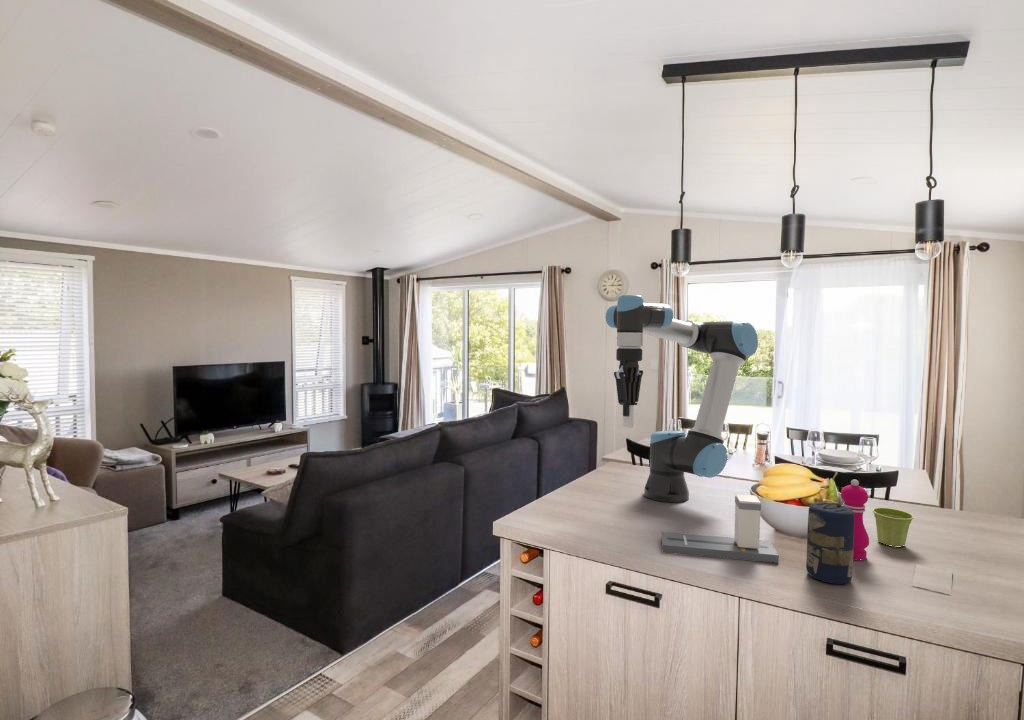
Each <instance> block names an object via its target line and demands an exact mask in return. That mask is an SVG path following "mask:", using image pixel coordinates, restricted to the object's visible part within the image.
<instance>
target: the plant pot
mask: <svg viewBox="0 0 1024 720" xmlns="http://www.w3.org/2000/svg"><path fill="white" fill-rule="evenodd" d="M871 511H872V513H873V516H874V518H875V525H876V535H877V536H876V537H877V542H878V541H879V542H881V543H883V544H882V545H885V544H886V545H885V546H887V545H892V546H903V545H905V546H906V542H907V537H908V532H909V529H910V525H911V523H912V520H913V519H914V518H915V516H914V515H913V514H912V513H910V512H907V511H904V510H900V509H896V508H891V507H890V508H889V507H875V508H874V507H873V508H872V510H871ZM879 542H878V543H879ZM881 543H880V544H881Z"/></svg>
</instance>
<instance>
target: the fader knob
mask: <svg viewBox="0 0 1024 720" xmlns="http://www.w3.org/2000/svg"><path fill="white" fill-rule="evenodd" d="M734 502H735V508H734V535H733V538H734V539H735V541H736V543H737V545H738V547H745V548H756V549H759V540H761V539H760V536H761V535H760V534H761V533H760V532H761V510H762V504H761V501H760V499H759V498H758V497H757V495H749V494H735V496H734Z"/></svg>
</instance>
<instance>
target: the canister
mask: <svg viewBox="0 0 1024 720" xmlns="http://www.w3.org/2000/svg"><path fill="white" fill-rule="evenodd" d="M854 524H855V514H854V512H853V511H852V510H851V509H850V508H848V507H845V506H843V504H842V505H841V504H840V503H836V502H825V501H824V502H823V501H821V502H813V503H812V504H810V505H809V507H808V516H807V534H806V561H805V562H806V564H805V568H806V572H807V573H808V575H810V576H811V577H813V578H814V579H817V580H819V581H822V582H825V583H830V584H836V585H840V584H843V585H844V584H847V583H849V582H850V581H852V578H853V569H854V568H853V565H854V560H853V552H854V546H853V545H854Z"/></svg>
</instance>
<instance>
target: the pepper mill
mask: <svg viewBox="0 0 1024 720" xmlns="http://www.w3.org/2000/svg"><path fill="white" fill-rule="evenodd" d="M859 484H860V481H859V480H857V479H852V480H851V481H850V484H848V485H846V486H844V487H843V488H842V489H841V491H840V497H841V499H842V500H843V503H842V506H845V507H848V508H850V509H851V510H852V511H853V512H854V514H855V524H854V545H853V546H854V552H853V559H857V560H856V561H861V560H860V559H865V558H866V559H867V553H868V552H867V550H866V549H867V547H869V545H870V537H869V533H868V532H867V529H866V527H865V524H864V513H865V512H866V505H865V504H866V503H867V502H869V501H868V500H869V494H868V492H867V490H866V489H865V488H863V487H862V486H860V485H859ZM866 559H865V560H866Z"/></svg>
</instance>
